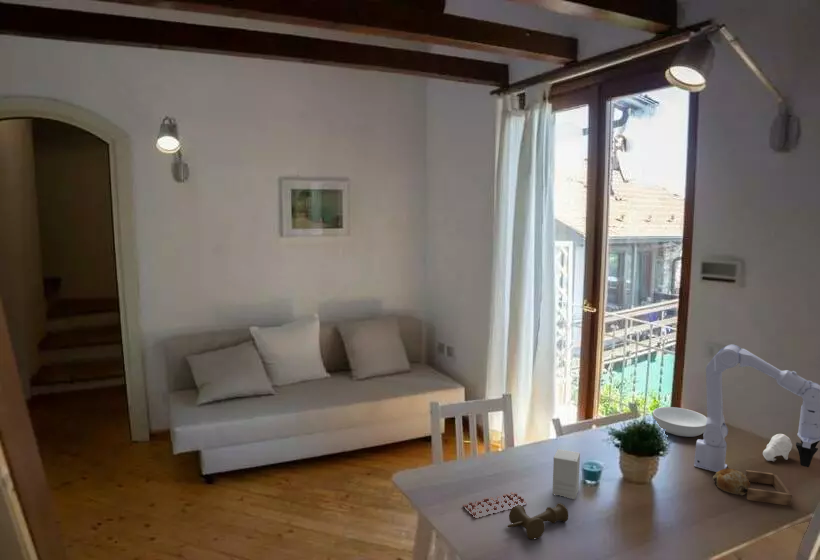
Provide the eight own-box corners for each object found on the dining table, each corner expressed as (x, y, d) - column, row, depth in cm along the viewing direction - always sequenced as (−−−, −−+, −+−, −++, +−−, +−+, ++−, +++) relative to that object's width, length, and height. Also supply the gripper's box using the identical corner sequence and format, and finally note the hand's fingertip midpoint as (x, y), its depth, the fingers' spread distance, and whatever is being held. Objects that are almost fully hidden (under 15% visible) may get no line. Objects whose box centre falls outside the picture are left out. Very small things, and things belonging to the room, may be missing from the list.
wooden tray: (747, 499, 174) (748, 489, 174) (734, 478, 188) (735, 468, 188) (790, 505, 171) (791, 495, 171) (774, 483, 185) (775, 473, 185)
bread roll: (729, 506, 178) (742, 489, 174) (704, 480, 185) (715, 464, 181) (748, 499, 182) (761, 482, 178) (722, 474, 190) (734, 458, 186)
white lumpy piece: (794, 435, 203) (775, 445, 197) (793, 457, 204) (774, 467, 199) (776, 429, 208) (757, 438, 203) (775, 450, 210) (756, 460, 204)
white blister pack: (527, 506, 170) (528, 500, 170) (475, 520, 162) (475, 514, 162) (513, 495, 177) (514, 489, 177) (462, 508, 169) (462, 502, 168)
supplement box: (579, 489, 180) (581, 452, 178) (575, 500, 173) (577, 461, 172) (555, 484, 183) (557, 448, 181) (551, 495, 176) (553, 457, 175)
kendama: (574, 530, 158) (517, 545, 150) (552, 514, 167) (497, 528, 158) (576, 509, 158) (518, 524, 149) (553, 494, 166) (497, 508, 158)
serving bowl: (659, 440, 219) (660, 423, 218) (646, 420, 239) (647, 405, 238) (716, 444, 216) (717, 427, 215) (697, 424, 236) (699, 408, 235)
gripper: (824, 431, 169) (819, 474, 171) (827, 418, 180) (823, 458, 182) (796, 425, 174) (791, 466, 175) (801, 413, 185) (797, 451, 186)
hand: (806, 462), depth 179 cm, fingers open, 7 cm apart
